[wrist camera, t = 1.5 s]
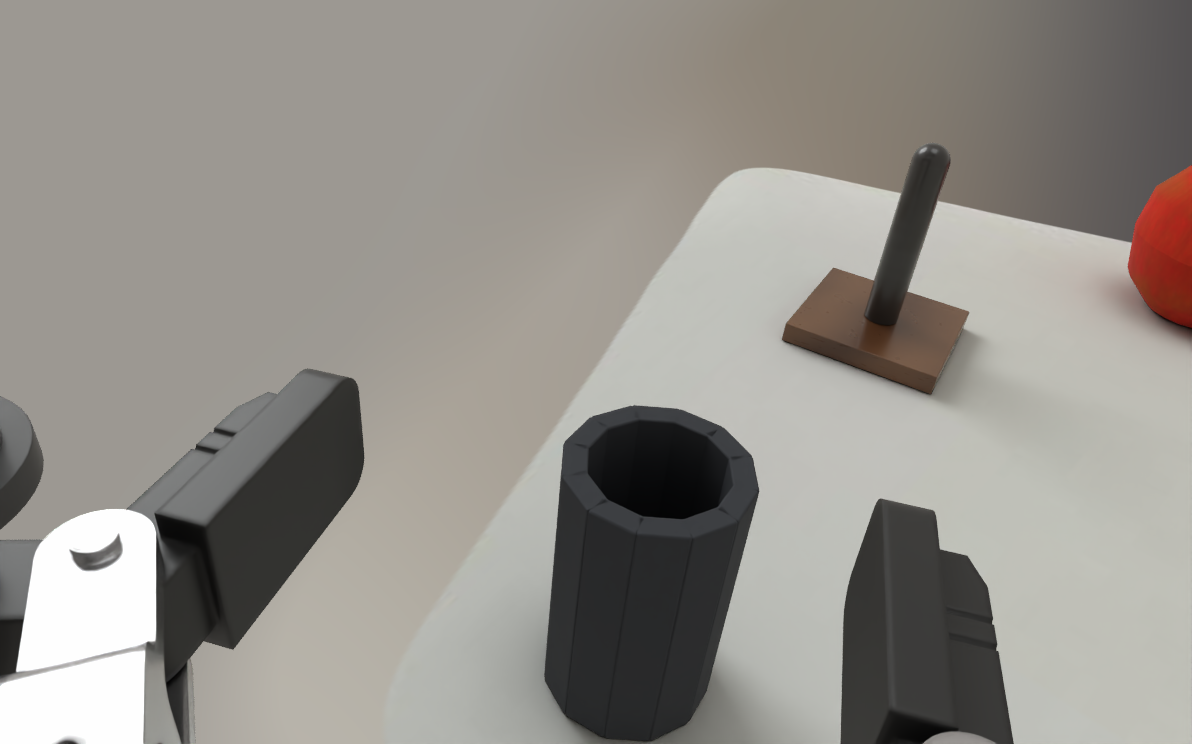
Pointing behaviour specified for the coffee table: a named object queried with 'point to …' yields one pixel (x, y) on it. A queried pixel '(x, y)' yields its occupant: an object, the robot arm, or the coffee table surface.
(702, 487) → the sleeve
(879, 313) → the stand
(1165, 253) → the apple
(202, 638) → the robot arm
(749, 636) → the coffee table surface
